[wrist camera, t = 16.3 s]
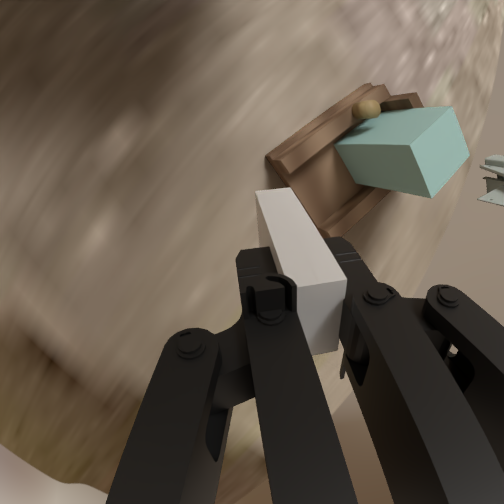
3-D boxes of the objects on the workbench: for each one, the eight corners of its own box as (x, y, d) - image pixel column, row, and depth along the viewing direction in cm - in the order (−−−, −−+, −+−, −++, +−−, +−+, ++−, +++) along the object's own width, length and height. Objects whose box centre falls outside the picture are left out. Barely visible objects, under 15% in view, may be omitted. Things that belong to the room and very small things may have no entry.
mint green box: (355, 183, 33) (431, 198, 23) (333, 144, 31) (409, 145, 21) (394, 149, 33) (469, 155, 23) (375, 112, 31) (451, 106, 21)
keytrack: (321, 238, 35) (359, 258, 28) (265, 155, 30) (297, 156, 24) (405, 162, 36) (448, 167, 29) (364, 84, 31) (407, 74, 25)
